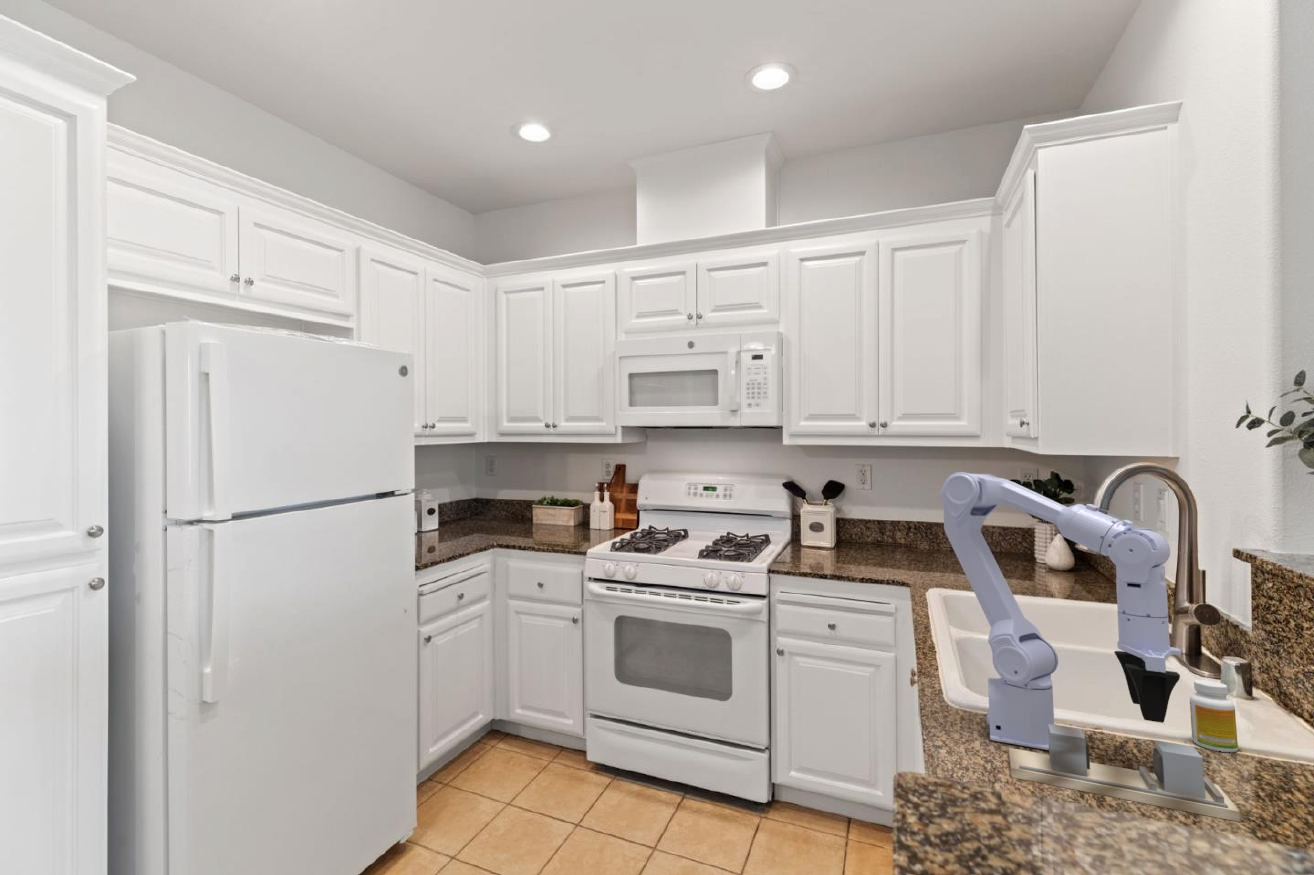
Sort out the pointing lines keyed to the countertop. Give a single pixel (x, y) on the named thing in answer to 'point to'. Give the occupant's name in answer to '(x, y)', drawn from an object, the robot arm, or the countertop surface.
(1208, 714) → the supplement bottle
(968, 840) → the countertop surface
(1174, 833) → the countertop surface
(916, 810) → the countertop surface
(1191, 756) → the finger part
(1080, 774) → the rail
